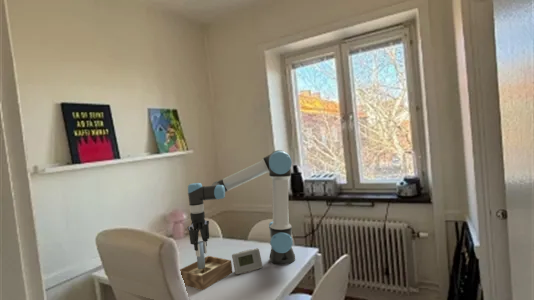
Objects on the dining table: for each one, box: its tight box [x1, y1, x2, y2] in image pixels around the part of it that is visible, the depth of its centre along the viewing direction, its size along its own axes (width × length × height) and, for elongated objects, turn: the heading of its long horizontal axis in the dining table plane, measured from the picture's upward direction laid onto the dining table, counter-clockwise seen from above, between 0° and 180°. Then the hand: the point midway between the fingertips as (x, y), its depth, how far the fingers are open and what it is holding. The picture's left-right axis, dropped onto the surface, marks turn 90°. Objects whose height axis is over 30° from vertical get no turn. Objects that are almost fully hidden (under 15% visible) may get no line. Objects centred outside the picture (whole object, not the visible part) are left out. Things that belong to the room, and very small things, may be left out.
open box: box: [179, 255, 233, 291], centre depth 174 cm, size 18×22×7 cm
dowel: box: [196, 240, 205, 269], centre depth 175 cm, size 4×4×14 cm
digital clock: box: [231, 247, 263, 275], centre depth 179 cm, size 16×9×11 cm, turn 101°
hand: (201, 254), depth 175 cm, fingers closed on dowel, 4 cm apart
